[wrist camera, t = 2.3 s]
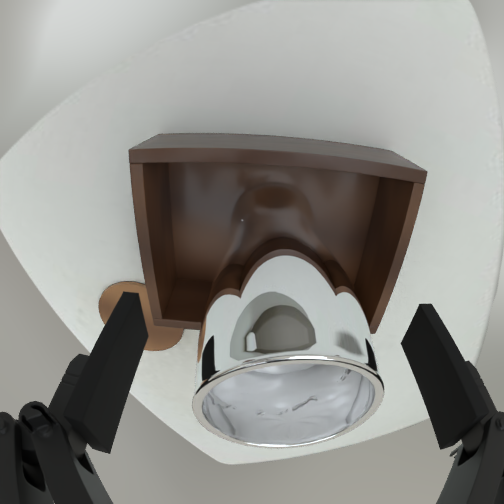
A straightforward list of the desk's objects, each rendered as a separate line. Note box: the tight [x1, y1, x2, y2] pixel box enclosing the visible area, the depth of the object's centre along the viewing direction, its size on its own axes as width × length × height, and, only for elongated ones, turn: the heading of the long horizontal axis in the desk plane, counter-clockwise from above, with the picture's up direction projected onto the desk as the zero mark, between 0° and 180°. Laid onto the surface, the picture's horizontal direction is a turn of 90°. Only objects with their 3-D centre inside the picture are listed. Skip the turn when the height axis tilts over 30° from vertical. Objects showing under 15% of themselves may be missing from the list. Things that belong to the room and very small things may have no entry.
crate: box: [129, 133, 427, 334], centre depth 20 cm, size 13×17×5 cm
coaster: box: [99, 282, 184, 351], centre depth 27 cm, size 9×9×1 cm
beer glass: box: [192, 184, 384, 448], centre depth 15 cm, size 7×7×15 cm
